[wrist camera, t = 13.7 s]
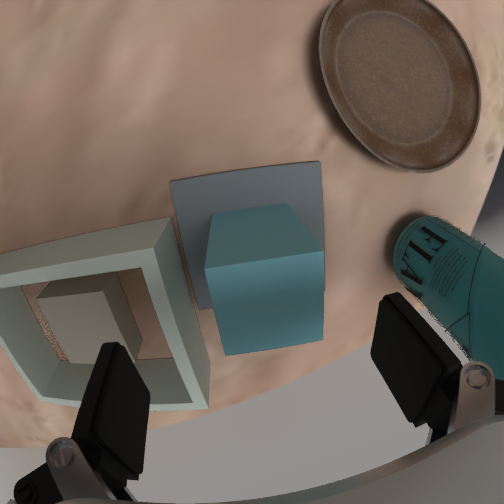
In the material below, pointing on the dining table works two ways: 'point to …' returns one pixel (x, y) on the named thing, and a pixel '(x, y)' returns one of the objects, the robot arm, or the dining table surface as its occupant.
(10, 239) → the dining table surface
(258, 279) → the block
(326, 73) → the saucer
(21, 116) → the dining table surface
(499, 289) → the beverage bottle
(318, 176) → the mat
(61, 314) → the frame
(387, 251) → the dining table surface
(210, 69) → the dining table surface
